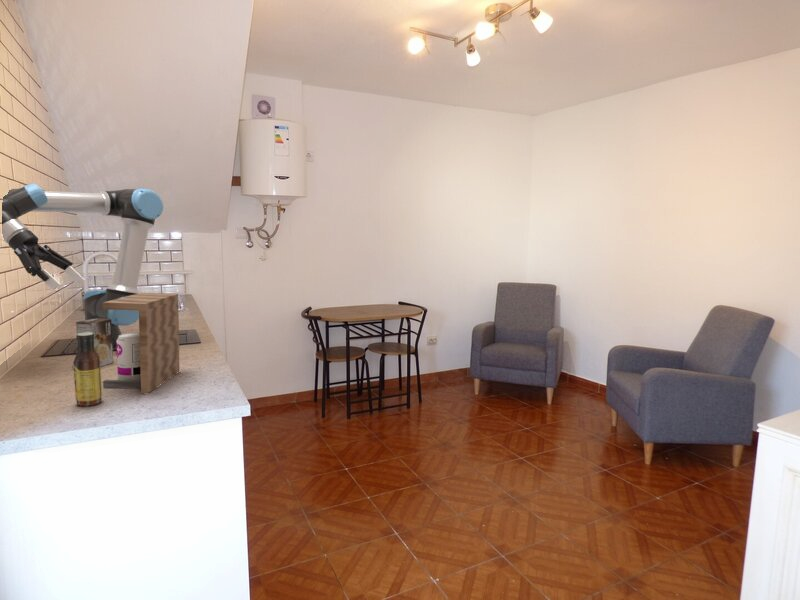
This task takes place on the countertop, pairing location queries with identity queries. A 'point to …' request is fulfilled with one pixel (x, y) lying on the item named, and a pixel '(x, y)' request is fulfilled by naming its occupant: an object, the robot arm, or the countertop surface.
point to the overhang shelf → (152, 338)
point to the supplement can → (128, 357)
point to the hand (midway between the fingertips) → (70, 284)
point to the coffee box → (99, 337)
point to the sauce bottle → (87, 371)
